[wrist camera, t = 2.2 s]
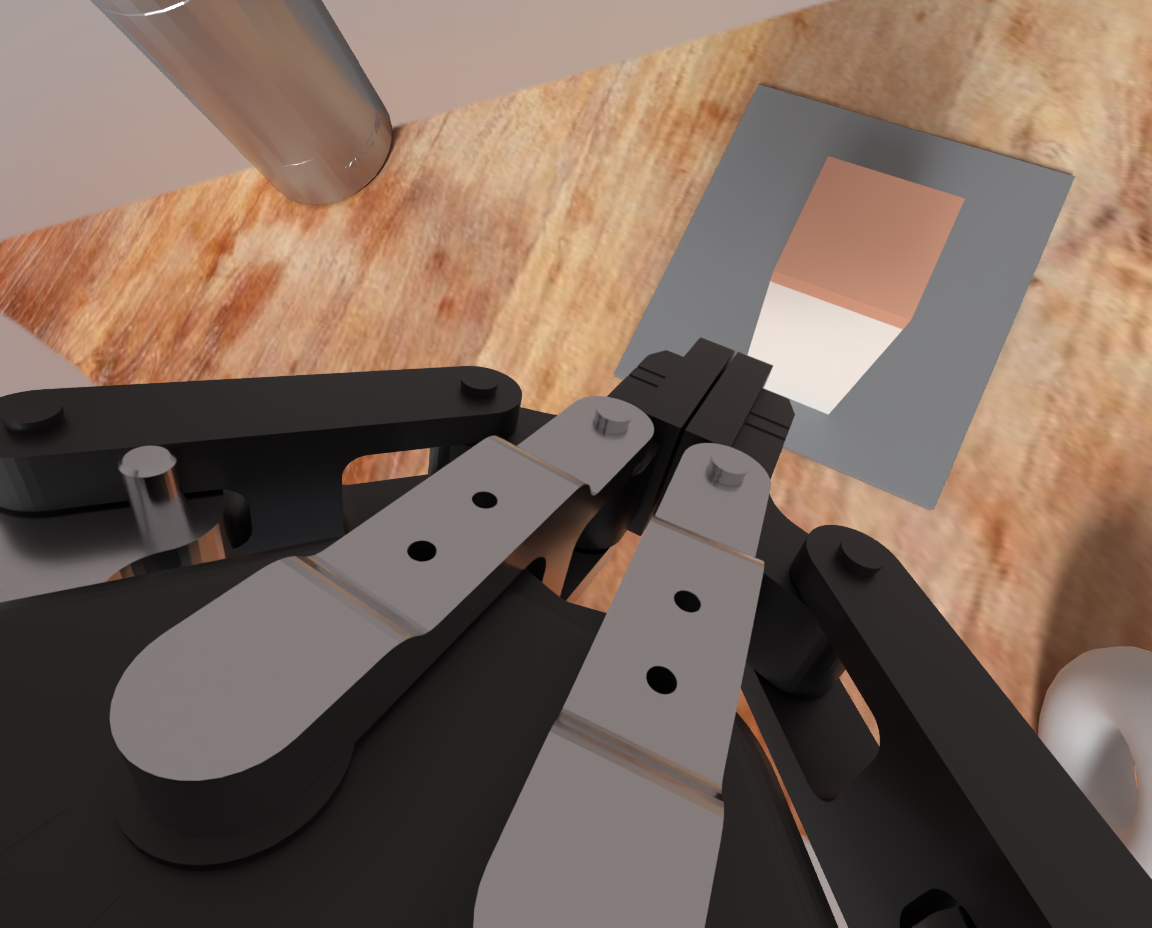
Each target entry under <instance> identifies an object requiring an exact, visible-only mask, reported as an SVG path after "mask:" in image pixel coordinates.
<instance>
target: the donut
mask: <svg viewBox="0 0 1152 928" xmlns="http://www.w3.org/2000/svg"><path fill="white" fill-rule="evenodd" d="M1038 737H1039V738H1040V739H1041V740H1042V742H1043V743H1044V744H1045V745H1046V747H1047V748H1048V749H1049V750H1050V752H1051V753H1052V754H1053V756H1054V757H1055V758H1056V759H1057V761H1058V762H1059V763H1060V764H1061V766H1062V767H1063V768H1064V769H1065V771H1066V772H1067V773H1068V774H1069V776H1070V777H1071V778H1072V779H1073V781H1074V782H1075V783H1076V784H1077V786H1078V787H1079V788H1080V790H1081V791H1082V792H1083V793H1084V795H1085V796H1086V797H1087V798H1088V800H1089V801H1090V802H1091V803H1092V805H1093V806H1094V807H1095V808H1096V810H1097V811H1098V812H1099V813H1100V815H1101V816H1102V817H1103V819H1104V820H1105V821H1106V822H1107V824H1108V825H1109V826H1110V827H1111V829H1112V830H1113V831H1114V832H1115V834H1116V835H1117V836H1118V837H1119V839H1120V840H1121V841H1122V842H1123V844H1124V845H1125V846H1126V847H1127V849H1128V850H1129V851H1130V853H1131V854H1132V855H1133V856H1134V858H1135V859H1136V860H1137V861H1138V863H1139V864H1140V865H1141V866H1142V868H1143V869H1144V870H1145V871H1146V873H1147V874H1148V875H1149V876H1150V878H1151V879H1152V652H1151V651H1148V650H1145V649H1141V648H1138V647H1134V646H1115V647H1107V648H1098V649H1093V650H1090V651H1087V652H1084V653H1082V654H1081V655H1079V656H1078V657H1076V658H1075V659H1074V660H1072V661H1071V662H1069V663H1068V664H1067V665H1065V666H1064V667H1063V668H1062V669H1061V670H1060V671H1059V672H1058V674H1057V675H1056V677H1055V679H1054V680H1053V682H1052V683H1051V685H1050V687H1049V688H1048V690H1047V692H1046V696H1045V699H1044V703H1043V706H1042V709H1041V713H1040V717H1039V727H1038ZM1134 765H1135V768H1136V776H1137V784H1138V791H1137V788H1136V781H1135V773H1134Z"/></svg>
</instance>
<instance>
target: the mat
mask: <svg viewBox="0 0 1152 928" xmlns="http://www.w3.org/2000/svg"><path fill="white" fill-rule="evenodd" d="M828 156H830V157H833V158H836V159H839V160H843V161H846V162H849V163H852V164H855V165H859V166H862V167H865V168H868V169H872V170H875V171H878V172H881V173H884V174H888V175H891V176H894V177H897V178H901V179H904V180H907V181H910V182H913V183H917V184H920V185H923V186H926V187H929V188H933V189H936V190H939V191H942V192H946V193H949V194H952V195H955V196H958V197H962V198H965V200H964V202H963V204H962V207H961V209H960V211H959V213H958V216H957V218H956V220H955V222H954V225H953V227H952V229H951V231H950V234H949V236H948V238H947V240H946V243H945V245H944V247H943V249H942V252H941V254H940V256H939V258H938V261H937V263H936V265H935V267H934V270H933V272H932V274H931V276H930V279H929V281H928V283H927V285H926V288H925V290H924V292H923V294H922V297H921V299H920V301H919V303H918V306H917V308H916V310H915V312H914V315H913V317H912V319H911V321H910V322H909V323H908V324H907V325H906V327H905V328H904V329H903V330H902V331H901V332H900V333H899V335H898V336H897V337H896V338H895V339H894V340H893V341H892V343H891V344H890V345H889V346H888V347H887V348H886V349H885V351H884V352H883V353H882V354H881V355H880V356H879V357H878V359H877V360H876V361H875V362H874V363H873V364H872V365H871V367H870V368H869V369H868V370H867V371H866V372H865V373H864V375H863V376H862V377H861V378H860V379H859V380H858V381H857V383H856V384H855V385H854V386H853V387H852V388H851V389H850V391H849V392H848V393H847V394H846V395H845V396H844V397H843V399H842V400H841V401H840V402H839V403H838V404H837V405H836V407H835V408H834V409H833V410H832V411H831V412H830V413H829V415H828V414H826V413H823V412H821V411H819V410H816V409H814V408H811V407H809V406H806V405H804V404H801V403H799V402H796V401H794V400H791V399H789V398H788V399H789V400H790V403H791V405H792V408H793V411H794V413H795V416H794V419H793V421H792V424H791V427H790V429H789V432H788V435H787V437H786V440H785V442H784V445H783V448H785V449H787V450H790V451H792V452H794V453H797V454H799V455H801V456H804V457H806V458H808V459H811V460H813V461H815V462H818V463H820V464H822V465H825V466H827V467H830V468H832V469H834V470H837V471H839V472H841V473H844V474H846V475H848V476H851V477H853V478H855V479H858V480H860V481H863V482H865V483H867V484H870V485H872V486H874V487H877V488H879V489H881V490H884V491H886V492H888V493H891V494H893V495H895V496H898V497H900V498H903V499H905V500H907V501H910V502H912V503H914V504H917V505H919V506H921V507H924V508H926V509H928V510H933V509H934V508H935V506H936V503H937V501H938V499H939V496H940V494H941V492H942V489H943V487H944V485H945V482H946V480H947V477H948V475H949V473H950V470H951V468H952V466H953V463H954V461H955V459H956V456H957V454H958V451H959V449H960V447H961V444H962V442H963V440H964V437H965V435H966V433H967V430H968V428H969V426H970V423H971V421H972V418H973V416H974V414H975V411H976V409H977V407H978V404H979V402H980V400H981V397H982V395H983V392H984V390H985V388H986V385H987V383H988V381H989V378H990V376H991V374H992V371H993V369H994V366H995V364H996V362H997V359H998V357H999V355H1000V352H1001V350H1002V348H1003V345H1004V343H1005V340H1006V338H1007V336H1008V333H1009V331H1010V329H1011V326H1012V324H1013V322H1014V319H1015V317H1016V314H1017V312H1018V310H1019V307H1020V305H1021V303H1022V300H1023V298H1024V296H1025V293H1026V291H1027V289H1028V286H1029V284H1030V281H1031V279H1032V277H1033V274H1034V272H1035V270H1036V267H1037V265H1038V263H1039V260H1040V258H1041V255H1042V253H1043V251H1044V248H1045V246H1046V244H1047V241H1048V239H1049V237H1050V234H1051V232H1052V229H1053V227H1054V225H1055V222H1056V220H1057V218H1058V215H1059V213H1060V211H1061V208H1062V206H1063V203H1064V201H1065V199H1066V196H1067V194H1068V192H1069V189H1070V187H1071V185H1072V182H1073V180H1074V177H1075V176H1071V175H1068V174H1065V173H1061V172H1058V171H1054V170H1051V169H1048V168H1044V167H1041V166H1037V165H1034V164H1030V163H1027V162H1024V161H1020V160H1017V159H1013V158H1010V157H1006V156H1003V155H1000V154H996V153H993V152H989V151H986V150H982V149H979V148H976V147H972V146H969V145H965V144H962V143H958V142H955V141H952V140H948V139H945V138H941V137H938V136H934V135H931V134H928V133H924V132H921V131H917V130H914V129H910V128H907V127H904V126H900V125H897V124H893V123H890V122H886V121H883V120H880V119H876V118H873V117H869V116H866V115H862V114H859V113H856V112H852V111H849V110H845V109H842V108H839V107H835V106H832V105H828V104H825V103H821V102H818V101H815V100H811V99H808V98H804V97H801V96H797V95H794V94H791V93H787V92H784V91H780V90H777V89H773V88H770V87H767V86H763V85H760V84H759V85H758V87H757V89H756V91H755V93H754V95H753V97H752V99H751V101H750V103H749V105H748V107H747V109H746V111H745V113H744V115H743V117H742V119H741V121H740V123H739V125H738V127H737V129H736V131H735V133H734V135H733V137H732V139H731V141H730V143H729V145H728V147H727V149H726V151H725V153H724V155H723V157H722V159H721V161H720V163H719V165H718V167H717V169H716V171H715V173H714V175H713V177H712V179H711V181H710V183H709V185H708V187H707V189H706V191H705V193H704V195H703V197H702V199H701V201H700V203H699V205H698V207H697V209H696V211H695V213H694V215H693V217H692V219H691V221H690V223H689V225H688V227H687V229H686V231H685V233H684V235H683V237H682V239H681V241H680V243H679V245H678V247H677V249H676V251H675V253H674V255H673V257H672V259H671V261H670V263H669V265H668V267H667V269H666V271H665V273H664V275H663V277H662V279H661V281H660V283H659V285H658V287H657V289H656V291H655V293H654V295H653V297H652V299H651V301H650V303H649V305H648V307H647V309H646V311H645V313H644V315H643V317H642V319H641V321H640V323H639V325H638V327H637V329H636V331H635V333H634V335H633V337H632V339H631V341H630V343H629V345H628V347H627V349H626V351H625V353H624V355H623V357H622V359H621V361H620V363H619V365H618V367H617V369H616V371H615V373H614V374H615V377H618V378H620V379H622V380H624V379H625V378H626V377H627V376H629V374H630V373H631V372H632V371H633V370H634V369H635V368H637V366H638V365H639V364H640V363H641V362H642V361H643V360H644V359H645V358H646V357H647V356H648V355H650V354H654V353H657V352H661V351H664V350H668V351H670V352H673V353H675V354H678V355H680V356H683V357H684V356H685V355H686V353H687V352H688V351H689V350H690V349H691V348H692V346H693V345H694V344H695V343H696V342H697V341H698V339H699V338H704V339H706V340H709V341H712V342H714V343H717V344H719V345H722V346H724V347H727V348H730V349H732V350H735V355H736V354H737V352H740V353H743V354H745V355H748V351H749V348H750V345H751V342H752V338H753V335H754V332H755V329H756V325H757V322H758V319H759V316H760V312H761V309H762V306H763V303H764V300H765V296H766V293H767V290H768V287H769V283H770V280H771V277H772V274H773V270H774V268H775V266H776V264H777V262H778V260H779V258H780V256H781V254H782V252H783V250H784V247H785V245H786V243H787V241H788V239H789V237H790V235H791V233H792V231H793V229H794V226H795V224H796V222H797V220H798V218H799V216H800V214H801V212H802V210H803V208H804V205H805V203H806V201H807V199H808V197H809V195H810V193H811V191H812V189H813V187H814V185H815V182H816V180H817V178H818V176H819V174H820V172H821V170H822V168H823V166H824V164H825V161H826V159H827V157H828ZM735 355H734V357H735ZM763 389H764V388H763ZM766 390H767V389H766ZM768 391H769V390H768ZM771 392H772V391H771ZM773 393H774V392H773ZM776 394H777V393H776ZM778 395H779V394H778ZM781 396H782V395H781ZM783 397H784V396H783Z"/></svg>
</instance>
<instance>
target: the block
mask: <svg viewBox="0 0 1152 928" xmlns="http://www.w3.org/2000/svg"><path fill="white" fill-rule="evenodd" d="M964 200H965V198H962V197H958V196H955V195H952V194H949V193H946V192H942V191H939V190H936V189H933V188H929V187H926V186H923V185H920V184H917V183H913V182H910V181H907V180H904V179H901V178H897V177H894V176H891V175H888V174H884V173H881V172H878V171H875V170H872V169H868V168H865V167H862V166H859V165H855V164H852V163H849V162H846V161H843V160H839V159H836V158H833V157H830V156H828V157H827V159H826V161H825V164H824V166H823V168H822V170H821V172H820V174H819V176H818V178H817V180H816V182H815V185H814V187H813V189H812V191H811V193H810V195H809V197H808V199H807V201H806V203H805V205H804V208H803V210H802V212H801V214H800V216H799V218H798V220H797V222H796V224H795V226H794V229H793V231H792V233H791V235H790V237H789V239H788V241H787V243H786V245H785V247H784V250H783V252H782V254H781V256H780V258H779V260H778V262H777V264H776V266H775V268H774V270H773V274H772V277H771V280H770V283H769V287H768V290H767V293H766V296H765V300H764V303H763V306H762V309H761V312H760V316H759V319H758V322H757V325H756V329H755V332H754V335H753V338H752V342H751V345H750V348H749V351H748V356H750V357H753V358H756V359H758V360H761V361H763V362H766V363H768V364H771V365H773V368H772V370H771V373H770V375H769V377H768V379H767V382H766V384H765V386H764V389H767V390H769V391H772V392H774V393H777V394H779V395H782V396H784V397H786V398H789V399H791V400H794V401H796V402H799V403H801V404H804V405H806V406H809V407H811V408H814V409H816V410H819V411H821V412H823V413H826V414H828V415H829V413H830V412H831V411H832V410H833V409H834V408H835V407H836V405H837V404H838V403H839V402H840V401H841V400H842V399H843V397H844V396H845V395H846V394H847V393H848V392H849V391H850V389H851V388H852V387H853V386H854V385H855V384H856V383H857V381H858V380H859V379H860V378H861V377H862V376H863V375H864V373H865V372H866V371H867V370H868V369H869V368H870V367H871V365H872V364H873V363H874V362H875V361H876V360H877V359H878V357H879V356H880V355H881V354H882V353H883V352H884V351H885V349H886V348H887V347H888V346H889V345H890V344H891V343H892V341H893V340H894V339H895V338H896V337H897V336H898V335H899V333H900V332H901V331H902V330H903V329H904V328H905V327H906V325H907V324H908V323H909V322H910V321H911V319H912V317H913V315H914V312H915V310H916V308H917V306H918V303H919V301H920V299H921V297H922V294H923V292H924V290H925V288H926V285H927V283H928V281H929V279H930V276H931V274H932V272H933V270H934V267H935V265H936V263H937V261H938V258H939V256H940V254H941V252H942V249H943V247H944V245H945V243H946V240H947V238H948V236H949V234H950V231H951V229H952V227H953V225H954V222H955V220H956V218H957V216H958V213H959V211H960V209H961V207H962V204H963V202H964Z"/></svg>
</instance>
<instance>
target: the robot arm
mask: <svg viewBox="0 0 1152 928" xmlns="http://www.w3.org/2000/svg"><path fill="white" fill-rule="evenodd" d="M91 1H92V2H93V3H94V4H95V5H96V6H97V7H98V8H99V9H100V10H101V11H102V12H103V13H104V14H105V15H106V17H108V18H109V20H111V22H112V23H113V24H115V26H116V27H117V28H119V30H120V31H121V32H122V33H123V34H124V35H125V36H126V37H127V38H128V39H129V40H130V41H131V42H132V43H133V44H134V45H135V46H136V47H137V48H138V49H139V50H140V51H141V52H142V53H143V54H144V55H145V56H146V57H147V58H148V59H149V60H150V61H151V62H152V63H153V64H154V65H155V66H156V67H157V68H158V69H159V70H160V71H161V72H162V73H163V74H164V75H165V76H166V77H167V78H168V79H169V80H170V81H171V82H172V83H173V84H174V85H175V86H176V87H177V88H178V89H179V90H180V91H181V92H182V93H183V94H184V95H185V96H186V97H187V98H188V99H189V100H190V101H191V103H193V105H194V106H195V107H196V108H197V109H199V111H201V112H202V114H203V115H204V116H205V117H206V118H207V119H208V120H209V121H210V122H211V123H212V124H213V125H214V126H215V127H216V128H217V129H218V130H219V131H220V132H221V133H222V134H223V135H224V136H225V137H226V138H227V139H228V140H229V141H230V142H231V143H232V144H233V145H234V146H235V147H236V148H237V149H238V150H239V151H240V153H242V155H243V156H244V157H245V158H246V159H247V160H248V161H250V163H251V164H252V165H253V166H254V167H255V168H256V169H257V170H258V171H259V172H260V173H261V174H262V175H263V176H264V177H265V178H266V179H267V180H268V181H269V182H270V183H271V184H272V185H273V186H274V187H275V188H276V189H277V190H278V191H279V192H281V193H282V194H283V195H285V196H286V197H287V198H289V199H291V200H294V201H296V202H298V203H303V204H309V205H324V204H329V203H333V202H337V201H340V200H343V199H345V198H347V197H349V196H351V195H353V194H355V193H356V192H358V191H359V190H360V189H362V188H363V187H365V186H366V185H367V184H368V183H369V182H370V181H371V180H372V179H373V178H374V177H375V176H376V174H377V173H378V171H379V170H380V168H381V167H382V166H383V164H384V162H385V159H386V157H387V155H388V153H389V149H390V145H391V140H392V125H391V121H390V117H389V114H388V112H387V110H386V108H385V106H384V105H383V103H382V101H381V99H380V98H379V96H378V94H377V93H376V91H375V89H374V88H373V86H372V84H371V83H370V81H369V79H368V78H367V76H366V74H365V73H364V71H363V69H362V68H361V66H360V64H359V62H358V60H357V59H356V57H355V55H354V54H353V52H352V50H351V49H350V47H349V45H348V44H347V42H346V40H345V39H344V37H343V35H342V34H341V32H340V30H339V29H338V27H337V25H336V24H335V22H334V20H333V19H332V17H331V15H330V14H329V12H328V10H327V9H326V7H325V5H324V3H323V2H322V0H91ZM734 355H735V350H732V349H730V348H727V347H724V346H722V345H719V344H717V343H714V342H712V341H709V340H706V339H704V338H699V339H698V341H697V342H696V343H695V344H694V345H693V346H692V348H691V349H690V350H689V351H688V352H687V353H686V355H685V356H684V357H683V356H680V355H678V354H675V353H673V352H670V351H668V350H664V351H661V352H657V353H654V354H650V355H648V356H647V357H646V358H645V359H644V360H643V361H642V362H641V363H640V364H639V365H638V366H637V368H635V369H634V370H633V371H632V372H631V373H630V374H629V376H627V377H626V378H625V379H624V380H623V381H622V382H621V383H620V384H619V385H618V386H617V387H616V388H615V389H614V390H613V391H612V392H611V393H610V394H609V395H608V396H607V397H604V396H592V397H586V398H582V399H580V400H578V401H576V402H574V403H573V404H572V405H571V406H569V407H568V408H567V409H565V410H564V411H563V412H561V413H560V414H559V415H553V414H548V413H543V412H539V411H534V410H530V409H526V408H521V407H520V405H521V399H522V391H521V389H520V387H519V385H518V384H517V383H516V382H515V381H514V380H513V379H512V378H510V377H509V376H507V375H505V374H503V373H501V372H498V371H496V370H493V369H489V368H484V367H477V366H459V367H441V368H423V369H405V370H387V371H368V372H350V373H332V374H314V375H296V376H278V377H259V378H241V379H223V380H205V381H187V382H169V383H150V384H132V385H114V386H96V387H78V388H61V389H43V390H31V391H25V392H19V393H14V394H10V395H6V396H3V397H0V928H838V925H837V923H836V921H835V918H834V916H833V913H832V911H831V908H830V906H829V903H828V901H827V899H826V896H825V894H824V891H823V889H822V886H821V884H820V881H819V879H818V877H817V874H816V872H815V870H814V867H813V865H812V862H811V860H810V857H809V855H808V852H807V850H806V847H805V845H804V842H803V840H802V837H801V835H800V833H799V830H798V828H797V825H796V823H795V820H794V818H793V815H792V813H791V811H790V808H789V806H788V803H787V801H786V798H785V796H784V793H783V791H782V789H781V786H780V784H779V781H778V779H777V776H776V774H775V772H774V770H773V767H772V765H771V763H770V761H769V759H768V757H767V756H766V754H765V752H764V750H763V748H762V747H761V745H760V743H759V742H758V740H757V739H756V737H755V736H754V734H753V733H752V731H751V730H750V728H749V727H748V725H747V724H746V723H745V722H744V721H743V719H742V718H741V717H740V716H739V715H738V713H737V712H736V708H737V703H738V698H739V693H740V688H741V689H742V692H743V694H744V696H745V698H746V700H747V703H748V705H749V707H750V709H751V712H752V714H753V716H754V718H755V721H756V723H757V725H758V727H759V729H760V732H761V734H762V736H763V738H764V741H765V743H766V745H767V747H768V749H769V752H770V754H771V756H772V758H773V761H774V763H775V765H776V767H777V770H778V772H779V774H780V776H781V778H782V781H783V783H784V785H785V787H786V790H787V792H788V794H789V796H790V799H791V801H792V803H793V805H794V807H795V810H796V812H797V814H798V816H799V819H800V821H801V823H802V825H803V828H804V830H805V832H806V834H807V836H808V839H809V841H810V843H811V845H812V848H813V850H814V852H815V854H816V856H817V859H818V861H819V863H820V865H821V868H822V870H823V872H824V874H825V877H826V879H827V881H828V883H829V885H830V887H831V890H832V892H833V894H834V897H835V899H836V901H837V903H838V906H839V908H840V910H841V912H842V914H843V917H844V919H845V921H846V923H847V926H848V928H1152V879H1151V878H1150V876H1149V875H1148V874H1147V873H1146V871H1145V870H1144V869H1143V868H1142V866H1141V865H1140V864H1139V863H1138V861H1137V860H1136V859H1135V858H1134V856H1133V855H1132V854H1131V853H1130V851H1129V850H1128V849H1127V847H1126V846H1125V845H1124V844H1123V842H1122V841H1121V840H1120V839H1119V837H1118V836H1117V835H1116V834H1115V832H1114V831H1113V830H1112V829H1111V827H1110V826H1109V825H1108V824H1107V822H1106V821H1105V820H1104V819H1103V817H1102V816H1101V815H1100V813H1099V812H1098V811H1097V810H1096V808H1095V807H1094V806H1093V805H1092V803H1091V802H1090V801H1089V800H1088V798H1087V797H1086V796H1085V795H1084V793H1083V792H1082V791H1081V790H1080V788H1079V787H1078V786H1077V784H1076V783H1075V782H1074V781H1073V779H1072V778H1071V777H1070V776H1069V774H1068V773H1067V772H1066V771H1065V769H1064V768H1063V767H1062V766H1061V764H1060V763H1059V762H1058V761H1057V759H1056V758H1055V757H1054V756H1053V754H1052V753H1051V752H1050V750H1049V749H1048V748H1047V747H1046V745H1045V744H1044V743H1043V742H1042V740H1041V739H1040V738H1039V737H1038V735H1037V734H1036V733H1035V732H1034V730H1033V729H1032V728H1031V727H1030V725H1029V724H1028V723H1027V722H1026V720H1025V719H1024V718H1023V716H1022V715H1021V714H1020V713H1019V711H1018V710H1017V709H1016V708H1015V706H1014V705H1013V704H1012V703H1011V701H1010V700H1009V699H1008V698H1007V696H1006V695H1005V694H1004V693H1003V691H1002V690H1001V689H1000V688H999V686H998V685H997V684H996V682H995V681H994V680H993V679H992V677H991V676H990V675H989V674H988V672H987V671H986V670H985V669H984V667H983V666H982V665H981V664H980V662H979V661H978V660H977V659H976V657H975V656H974V655H973V654H972V652H971V651H970V650H969V648H968V647H967V646H966V645H965V643H964V642H963V641H962V640H961V638H960V637H959V636H958V635H957V633H956V632H955V631H954V630H953V628H952V627H951V626H950V625H949V623H948V622H947V621H946V620H945V618H944V617H943V616H942V614H941V613H940V612H939V611H938V609H937V608H936V607H935V606H934V604H933V603H932V602H931V601H930V599H929V598H928V597H927V596H926V594H925V593H924V592H923V591H922V589H921V588H920V587H919V586H918V584H917V583H916V582H915V580H914V579H913V578H912V577H911V575H910V574H909V573H908V572H907V570H906V569H905V568H904V567H903V565H902V564H901V563H900V562H899V560H898V559H897V558H896V557H895V556H894V555H893V554H892V553H891V552H890V551H889V550H888V549H887V548H886V547H884V546H883V545H882V544H880V543H879V542H878V541H876V540H874V539H873V538H871V537H869V536H868V535H866V534H864V533H862V532H859V531H857V530H854V529H851V528H848V527H843V526H838V525H824V526H820V527H817V528H815V529H813V530H812V531H811V532H810V533H809V534H808V533H806V532H805V531H804V530H802V529H801V528H799V527H798V526H796V525H795V524H794V523H792V522H791V521H790V520H789V519H788V518H786V517H785V516H784V515H783V514H782V513H781V512H780V510H779V509H778V508H777V507H776V505H775V504H774V502H773V500H772V498H771V496H770V488H771V482H770V479H771V476H772V474H773V471H774V468H775V466H776V463H777V461H778V458H779V455H780V453H781V450H782V448H783V445H784V442H785V440H786V437H787V435H788V432H789V429H790V427H791V424H792V421H793V419H794V416H795V413H794V411H793V408H792V405H791V403H790V400H789V399H788V398H786V397H783V396H781V395H778V394H776V393H773V392H771V391H768V390H766V389H763V388H764V386H765V384H766V382H767V379H768V377H769V375H770V373H771V370H772V368H773V365H771V364H768V363H766V362H763V361H761V360H758V359H756V358H753V357H750V356H748V355H745V354H743V353H740V352H737V354H736V355H735V357H734ZM424 448H430V455H429V468H428V475H420V476H413V477H405V478H398V479H390V480H383V481H375V482H368V483H360V484H353V485H342V473H343V471H344V469H345V467H346V466H347V465H348V464H349V463H350V462H351V461H353V460H354V459H356V458H358V457H361V456H365V455H372V454H381V453H389V452H398V451H407V450H416V449H424ZM647 525H648V526H647ZM646 527H647V528H646ZM645 529H646V530H645ZM626 530H629V531H631V532H633V533H635V534H637V535H639V536H641V535H642V534H643V532H644V530H645V532H644V535H643V537H642V539H641V541H640V543H639V545H638V547H637V550H636V552H635V554H634V556H633V558H632V560H631V562H630V565H629V567H628V569H627V571H626V573H625V575H624V578H623V580H622V582H621V584H620V586H619V588H618V590H617V593H616V595H615V597H614V599H613V601H612V603H611V606H610V608H609V610H608V612H607V613H604V612H600V611H597V610H594V609H590V608H587V607H583V606H580V605H576V604H574V603H575V602H576V601H577V600H578V598H579V597H580V596H581V595H582V593H583V592H584V591H585V590H586V588H587V587H588V586H589V585H590V584H591V582H592V581H593V580H594V579H595V577H596V576H597V575H598V574H599V572H600V571H601V570H602V569H603V567H604V566H605V565H606V564H607V562H608V561H609V560H610V558H611V557H612V554H613V551H614V548H615V545H616V543H618V542H619V541H620V539H621V538H622V536H623V535H624V533H625V532H626ZM845 670H847V672H848V674H849V675H850V677H851V679H852V680H853V682H854V684H855V685H856V687H857V689H858V690H859V692H860V694H861V695H862V697H863V699H864V700H865V702H866V703H867V705H868V707H869V708H870V710H871V712H872V714H873V716H874V717H875V720H876V722H877V725H878V729H879V734H880V747H879V745H878V744H877V742H876V740H875V739H874V737H873V735H872V734H871V732H870V730H869V728H868V727H867V725H866V723H865V722H864V720H863V718H862V716H861V715H860V713H859V711H858V710H857V708H856V706H855V705H854V703H853V701H852V699H851V698H850V696H849V694H848V693H847V691H846V689H845V688H844V686H843V684H842V682H841V681H840V679H839V677H840V676H841V675H842V673H843V672H844V671H845Z"/></svg>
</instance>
